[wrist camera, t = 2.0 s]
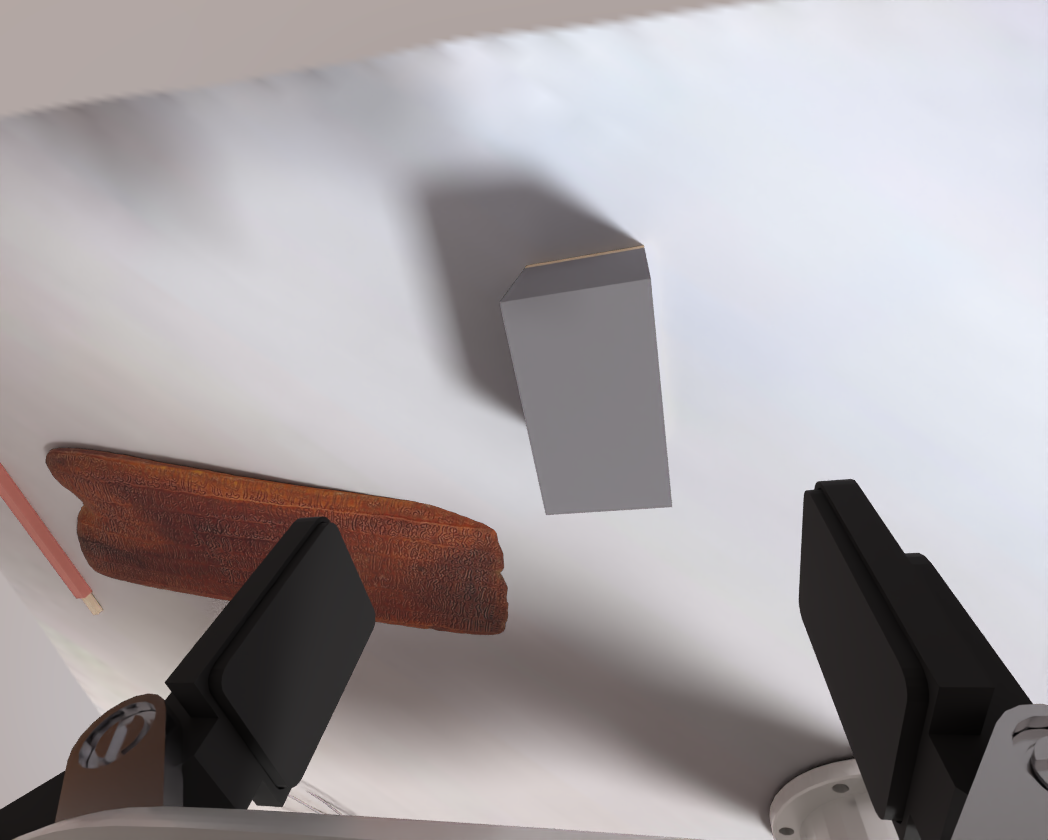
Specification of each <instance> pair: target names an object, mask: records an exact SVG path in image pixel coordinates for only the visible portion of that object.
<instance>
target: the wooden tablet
mask: <svg viewBox="0 0 1048 840" xmlns="http://www.w3.org/2000/svg"><path fill="white" fill-rule="evenodd" d="M46 464H47V466H48V468H49V470H50V471H51V473H52V475H53V476H54V478H55V479H56V480H57V481H58V482H59V483H60V484H61V485H62V486H64V487H65V488H67V489H68V490H70V491H71V492H72V493H74V494H75V495H76V496H77V497H78V498H79V499H80V500H81V501H82V502H83V504H84V506H83V507H82V508H81V511H80V512H79V515H78V523H77V534H78V539H79V542H80V546H81V550H82V552H83V554H84V556H85V558H86V560H87V562H88V564H89V565H90V566H91V567H92V568H93V569H94V570H95V571H96V572H98V573H100V574H102V575H105V576H108V577H111V578H114V579H118V580H123V581H127V582H131V583H135V584H140V585H144V586H149V587H154V588H159V589H165V590H171V591H176V592H181V593H187V594H194V595H199V596H204V597H210V598H216V599H221V600H229V601H231V600H232V598H233V597H234V596H235V595H236V593H237V592H238V591H239V590H240V588H241V587H242V586H243V585H244V583H245V582H246V581H247V580H248V578H249V577H250V576H251V575H252V573H253V572H254V571H255V570H256V568H257V567H258V566H259V565H260V563H261V562H262V561H263V560H264V559H265V557H266V556H267V555H268V554H269V552H270V551H271V550H272V549H273V547H274V546H275V545H276V544H277V542H278V541H279V540H280V539H281V537H282V536H283V535H284V534H285V532H286V531H287V530H288V529H289V527H290V526H291V525H292V524H293V523H294V522H295V521H296V520H297V519H299V518H306V517H320V516H323V517H327V518H328V519H329V520H330V522H331V523H335V524H336V525H337V527H338V529H339V531H340V533H341V536H342V538H343V540H344V542H345V545H346V547H347V549H348V551H349V554H350V556H351V558H352V560H353V563H354V565H355V567H356V569H357V572H358V574H359V576H360V578H361V581H362V583H363V585H364V588H365V590H366V592H367V594H368V597H369V599H370V601H371V603H372V606H373V608H374V611H375V616H376V618H375V622H382V623H387V624H395V625H403V626H408V627H416V628H422V629H428V628H432V629H435V630H438V631H448V632H455V633H467V634H477V635H494V634H500V633H502V632H503V631H504V629H505V623H506V621H507V618H508V612H507V609H508V602H507V598H506V596H507V589H508V587H507V585H506V583H505V581H504V578H503V577H502V575H501V571H502V570H503V569H504V560H503V552H502V550H501V547H500V545H499V543H498V538H497V533H496V532H495V530H493V529H492V528H490V527H488V526H487V525H485V524H483V523H480V522H477V521H474V520H472V519H470V518H467V517H464V516H461V515H459V514H456V513H453V512H450V511H447V510H444V509H442V508H439V507H436V506H432V505H428V504H424V503H418V502H414V501H408V500H400V499H393V498H387V497H378V496H372V495H365V494H358V493H353V492H345V491H338V490H331V489H318V488H312V487H306V486H297V485H292V484H286V483H279V482H273V481H266V480H260V479H254V478H248V477H241V476H234V475H230V474H225V473H219V472H214V471H210V470H203V469H197V468H191V467H186V466H179V465H174V464H168V463H161V462H157V461H153V460H147V459H142V458H137V457H133V456H128V455H122V454H115V453H111V452H105V451H96V450H87V449H80V448H57V449H52V450H50V451H49V453H48V454H47V456H46Z"/></svg>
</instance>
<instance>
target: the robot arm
mask: <svg viewBox="0 0 1048 840" xmlns="http://www.w3.org/2000/svg"><path fill="white" fill-rule="evenodd" d="M799 607H800V613H801V617H802V620H803V623H804V625H805V628H806V631H807V633H808V636H809V638H810V641H811V644H812V646H813V649H814V652H815V654H816V657H817V660H818V662H819V665H820V668H821V670H822V673H823V675H824V678H825V681H826V683H827V686H828V689H829V691H830V694H831V697H832V699H833V702H834V705H835V707H836V710H837V712H838V715H839V718H840V720H841V723H842V726H843V728H844V731H845V734H846V736H847V739H848V741H849V744H850V747H851V749H852V752H853V755H854V757H855V759H850V760H844V761H838V762H833V763H830V764H827V765H823V766H820V767H817V768H814V769H812V770H809V771H807V772H805V773H803V774H801V775H799V776H797V777H796V778H794V779H793V780H791V781H790V782H789V783H787V784H786V785H785V786H784V787H783V788H782V789H781V790H780V791H779V792H778V794H777V795H776V796H775V798H774V800H773V802H772V804H771V806H770V815H769V818H770V823H771V828H772V833H773V837H774V840H1048V705H1045V704H1033V703H1032V702H1031V701H1030V699H1029V698H1028V697H1027V695H1026V694H1025V692H1024V691H1023V690H1022V688H1021V687H1020V685H1019V684H1018V683H1017V681H1016V680H1015V678H1014V677H1013V676H1012V674H1011V673H1010V672H1009V670H1008V669H1007V667H1006V666H1005V665H1004V663H1003V662H1002V660H1001V659H1000V658H999V656H998V655H997V653H996V652H995V651H994V649H993V648H992V647H991V645H990V644H989V642H988V641H987V640H986V638H985V637H984V635H983V634H982V633H981V631H980V630H979V629H978V627H977V626H976V624H975V623H974V622H973V620H972V619H971V617H970V616H969V615H968V613H967V612H966V610H965V609H964V608H963V606H962V605H961V604H960V602H959V601H958V599H957V598H956V597H955V595H954V594H953V592H952V591H951V590H950V588H949V587H948V586H947V584H946V583H945V581H944V580H943V579H942V577H941V576H940V574H939V573H938V572H937V570H936V569H935V567H934V566H933V565H932V563H931V562H930V561H929V560H928V559H927V558H926V557H925V556H924V555H922V554H920V553H906V554H905V553H904V552H903V550H902V549H901V547H900V546H899V544H898V543H897V541H896V540H895V539H894V537H893V536H892V534H891V533H890V531H889V530H888V528H887V527H886V525H885V524H884V522H883V521H882V519H881V518H880V516H879V515H878V513H877V512H876V510H875V509H874V507H873V506H872V504H871V503H870V501H869V500H868V498H867V497H866V496H865V494H864V493H863V491H862V490H861V488H860V487H859V485H858V484H857V483H856V481H855V480H853V479H845V480H831V481H818V482H817V483H816V485H815V489H814V490H806V491H805V493H804V502H803V523H802V543H801V563H800V584H799ZM375 618H376V616H375V611H374V608H373V606H372V603H371V601H370V599H369V597H368V594H367V592H366V590H365V588H364V585H363V583H362V581H361V578H360V576H359V574H358V572H357V569H356V567H355V565H354V563H353V560H352V558H351V556H350V554H349V551H348V549H347V547H346V545H345V542H344V540H343V538H342V536H341V533H340V531H339V529H338V527H337V525H336V524H335V523H331V522H330V520H329V519H328V518H327V517H323V516H320V517H306V518H299V519H297V520H296V521H295V522H294V523H293V524H292V525H291V526H290V527H289V529H288V530H287V531H286V532H285V534H284V535H283V536H282V537H281V539H280V540H279V541H278V542H277V544H276V545H275V546H274V547H273V549H272V550H271V551H270V552H269V554H268V555H267V556H266V557H265V559H264V560H263V561H262V562H261V563H260V565H259V566H258V567H257V568H256V570H255V571H254V572H253V573H252V575H251V576H250V577H249V578H248V580H247V581H246V582H245V583H244V585H243V586H242V587H241V588H240V590H239V591H238V592H237V593H236V595H235V596H234V597H233V598H232V600H231V601H230V602H229V603H228V604H227V606H226V607H225V608H224V609H223V611H222V612H221V613H220V614H219V616H218V617H217V618H216V619H215V621H214V622H213V623H212V624H211V626H210V627H209V628H208V629H207V631H206V632H205V633H204V634H203V636H202V637H201V638H200V639H199V641H198V642H197V643H196V644H195V645H194V647H193V648H192V649H191V650H190V652H189V653H188V654H187V655H186V657H185V658H184V659H183V660H182V662H181V663H180V664H179V665H178V667H177V668H176V669H175V670H174V672H173V673H172V674H171V675H170V677H169V678H168V679H167V680H166V682H165V684H166V685H167V686H168V688H169V689H170V690H171V694H170V695H169V696H168V697H167V699H166V700H164V699H163V698H161V697H160V696H159V695H156V694H144V695H139V696H135V697H133V698H130V699H128V700H126V701H123V702H121V703H120V704H118V705H116V706H115V707H113V708H111V709H110V710H108V711H107V712H106V713H104V714H103V715H102V716H101V717H99V718H98V719H97V720H96V721H95V722H93V723H92V724H91V725H90V727H89V728H88V729H87V730H86V731H85V732H84V733H83V734H82V735H81V736H80V738H79V739H78V741H77V742H76V744H75V745H74V747H73V748H72V750H71V753H70V756H69V758H68V761H67V766H66V770H65V771H64V772H62V773H60V774H59V775H57V776H55V777H54V778H52V779H50V780H49V781H47V782H45V783H44V784H42V785H41V786H39V787H37V788H35V789H34V790H32V791H30V792H29V793H27V794H25V795H24V796H22V797H20V798H19V799H17V800H16V801H14V802H12V803H10V804H9V805H7V806H5V807H4V808H2V809H0V840H702V839H688V838H674V837H660V836H646V835H632V834H618V833H604V832H590V831H576V830H562V829H548V828H533V827H518V826H503V825H488V824H472V823H457V822H442V821H427V820H411V819H396V818H380V817H364V816H348V815H331V814H314V813H297V812H280V811H263V810H247V809H248V807H249V805H250V803H251V801H252V800H253V801H254V802H255V804H256V805H258V806H274V807H283V805H284V803H285V801H286V799H287V796H288V794H289V792H290V790H291V788H293V787H295V786H296V785H297V784H298V783H299V782H300V780H301V779H302V777H303V775H304V773H305V771H306V769H307V767H308V765H309V762H310V760H311V758H312V756H313V754H314V752H315V750H316V748H317V746H318V744H319V742H320V739H321V737H322V735H323V733H324V731H325V729H326V727H327V725H328V723H329V721H330V719H331V716H332V714H333V712H334V710H335V708H336V706H337V704H338V702H339V700H340V698H341V695H342V693H343V691H344V689H345V687H346V685H347V683H348V681H349V679H350V677H351V675H352V672H353V670H354V668H355V666H356V664H357V662H358V660H359V658H360V656H361V654H362V652H363V649H364V647H365V645H366V643H367V641H368V639H369V637H370V635H371V633H372V631H373V628H374V626H375Z"/></svg>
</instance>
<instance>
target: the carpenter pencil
mask: <svg viewBox="0 0 1048 840" xmlns="http://www.w3.org/2000/svg"><path fill="white" fill-rule="evenodd" d="M0 496H1V497H2V499H3V500H4V501H5V503H6V504H7V505H8V507H9V508H10V509H11V511H12V512H13V514H14V515H15V516H16V518H17V519H18V520H19V522H20V523H21V524H22V526H23V527H24V528H25V530H26V531H27V532H28V534H29V535H30V537H31V538H32V539H33V541H34V542H35V543H36V545H37V546H38V547H39V549H40V550H41V551H42V553H43V554H44V556H45V557H46V558H47V560H48V561H49V562H50V564H51V565H52V566H53V568H54V569H55V570H56V572H57V573H58V574H59V576H60V577H61V579H62V580H63V581H64V583H65V584H66V585H67V587H68V588H69V589H70V591H71V592H72V593H73V595H74V596H75V597H76V598H81V599H82V600H83V601H84V603H85V604H86V605H87V607H88V608H89V610H90V611H91V612H92V614H93V615H98V614H99V613H100V612H101V611H102V610H103V609H102V608H101V606H100V605H99V604H98V602H97V601H96V599H95V598H94V597H93V595H92V594H91V592H92V590H91V589H90V587H89V586H88V584H87V583H86V582H85V580H84V579H83V577H82V576H81V575H80V573H79V572H78V570H77V569H76V568H75V566H74V565H73V564H72V562H71V561H70V559H69V558H68V557H67V555H66V554H65V552H64V551H63V550H62V548H61V547H60V545H59V544H58V543H57V541H56V540H55V538H54V537H53V536H52V534H51V533H50V531H49V530H48V529H47V527H46V526H45V524H44V523H43V522H42V520H41V519H40V517H39V516H38V515H37V513H36V512H35V511H34V509H33V508H32V506H31V505H30V504H29V502H28V501H27V499H26V498H25V497H24V495H23V494H22V492H21V491H20V490H19V488H18V487H17V485H16V484H15V483H14V481H13V480H12V478H11V477H10V476H9V474H8V473H7V471H6V470H5V469H4V467H3V466H2V464H1V463H0Z"/></svg>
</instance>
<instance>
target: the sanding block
mask: <svg viewBox="0 0 1048 840" xmlns="http://www.w3.org/2000/svg"><path fill="white" fill-rule="evenodd" d="M499 303H500V308H501V312H502V317H503V321H504V326H505V331H506V335H507V340H508V344H509V349H510V353H511V358H512V362H513V367H514V372H515V376H516V381H517V385H518V390H519V394H520V399H521V403H522V408H523V413H524V417H525V422H526V426H527V431H528V435H529V440H530V445H531V449H532V454H533V458H534V463H535V467H536V472H537V476H538V481H539V486H540V490H541V495H542V499H543V504H544V508H545V513H546V515H554V514H569V513H585V512H601V511H617V510H632V509H648V508H664V507H672V500H671V489H670V478H669V468H668V457H667V447H666V436H665V425H664V415H663V404H662V394H661V383H660V372H659V362H658V351H657V341H656V330H655V319H654V309H653V298H652V287H651V278H650V273H649V268H648V263H647V258H646V254H645V249H644V245H643V246H637V247H631V248H625V249H619V250H614V251H608V252H602V253H596V254H591V255H585V256H579V257H573V258H567V259H562V260H556V261H550V262H544V263H539V264H533V265H527V266H526V267H525V268H524V270H523V271H522V273H521V274H520V275H519V277H518V278H517V279H516V281H515V282H514V283H513V285H512V286H511V287H510V289H509V290H508V292H507V293H506V294H505V296H504V297H503V298H502V300H501V301H500V302H499Z"/></svg>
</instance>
